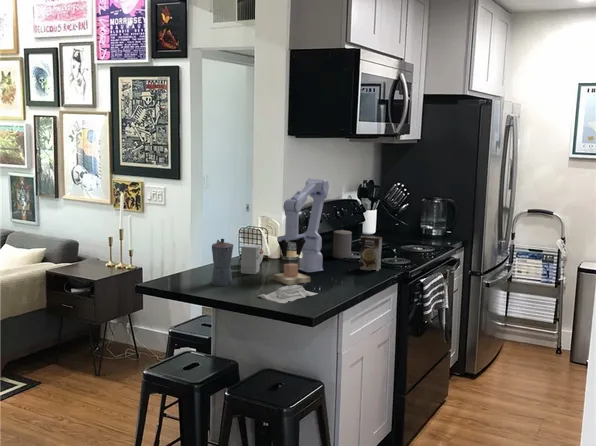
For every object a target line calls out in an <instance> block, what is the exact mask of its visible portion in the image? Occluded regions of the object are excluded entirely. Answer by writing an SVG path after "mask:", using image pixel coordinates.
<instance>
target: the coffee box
mask: <svg viewBox="0 0 596 446" xmlns="http://www.w3.org/2000/svg"><path fill="white" fill-rule="evenodd" d="M360 243H361V245H360V256H359V257H360V259H359V260H360V261H359V269H360V270H363V271H371V270H376V271H375V272H379V271H380V270H381V265H382V264H381V261H382V249H383V248H382V245H383V237H382V236H373V235H362V236H361V241H360ZM379 269H380V270H379Z"/></svg>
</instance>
